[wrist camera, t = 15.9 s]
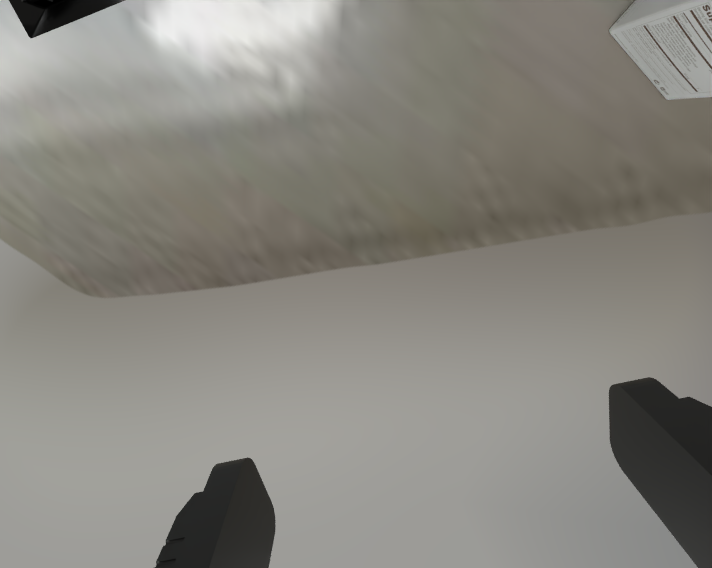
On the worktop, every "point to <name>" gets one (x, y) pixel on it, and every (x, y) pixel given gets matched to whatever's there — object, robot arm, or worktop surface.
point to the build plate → (55, 12)
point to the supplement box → (670, 44)
